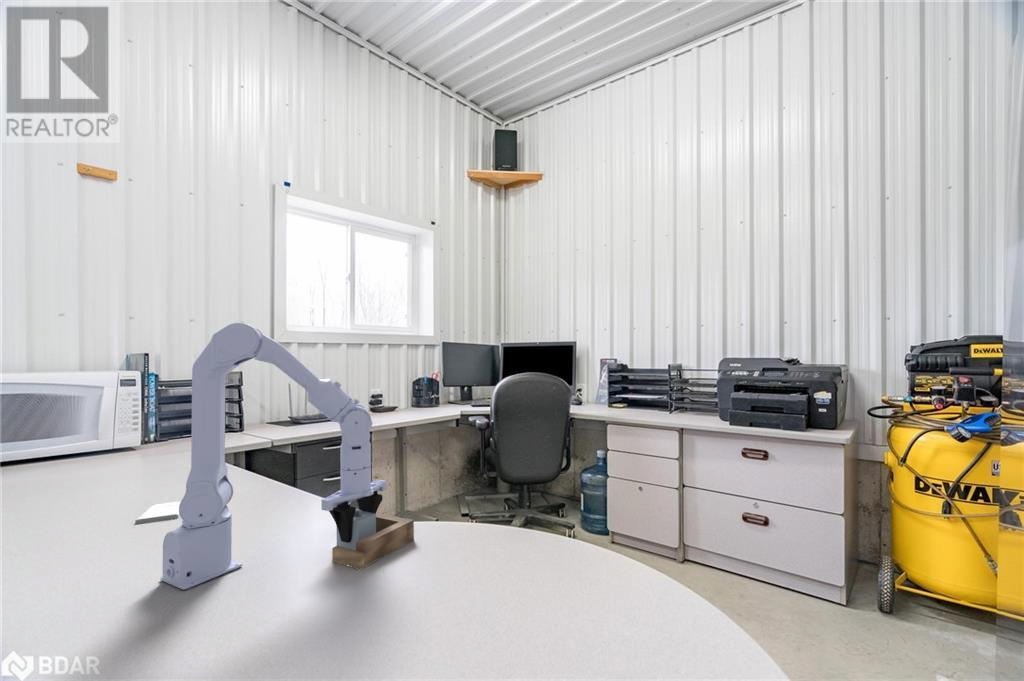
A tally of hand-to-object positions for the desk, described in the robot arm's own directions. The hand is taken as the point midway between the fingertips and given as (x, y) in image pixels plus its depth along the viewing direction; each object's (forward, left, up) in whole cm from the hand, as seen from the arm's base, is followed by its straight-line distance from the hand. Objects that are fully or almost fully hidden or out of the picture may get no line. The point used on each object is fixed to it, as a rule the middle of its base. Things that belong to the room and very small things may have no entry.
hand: (356, 536), depth 87 cm
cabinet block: (0, 0, -2) cm, 2 cm away
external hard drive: (-7, +60, -3) cm, 60 cm away
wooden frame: (0, +1, -2) cm, 2 cm away
